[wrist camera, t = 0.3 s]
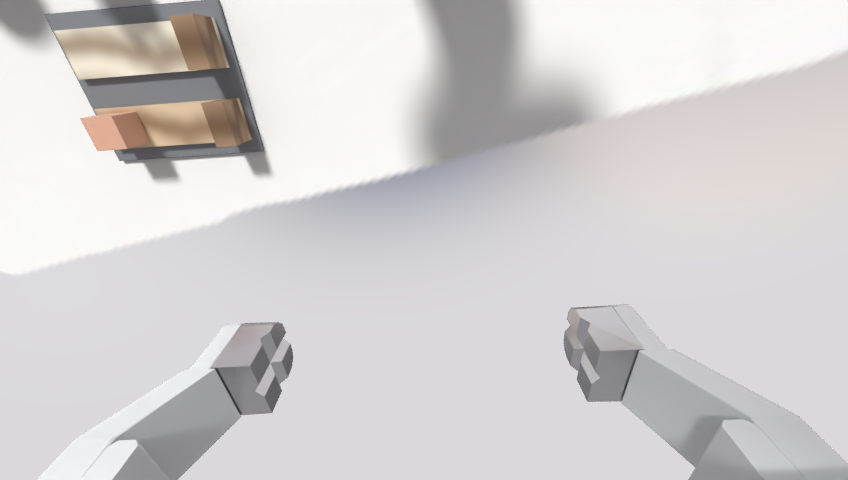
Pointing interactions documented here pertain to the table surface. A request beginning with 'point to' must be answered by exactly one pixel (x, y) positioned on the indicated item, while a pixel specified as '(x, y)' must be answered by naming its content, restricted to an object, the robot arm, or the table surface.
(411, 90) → the table surface
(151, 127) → the oak strip
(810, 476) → the robot arm
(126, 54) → the pale ash strip
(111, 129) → the terracotta cube
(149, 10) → the lane mat
